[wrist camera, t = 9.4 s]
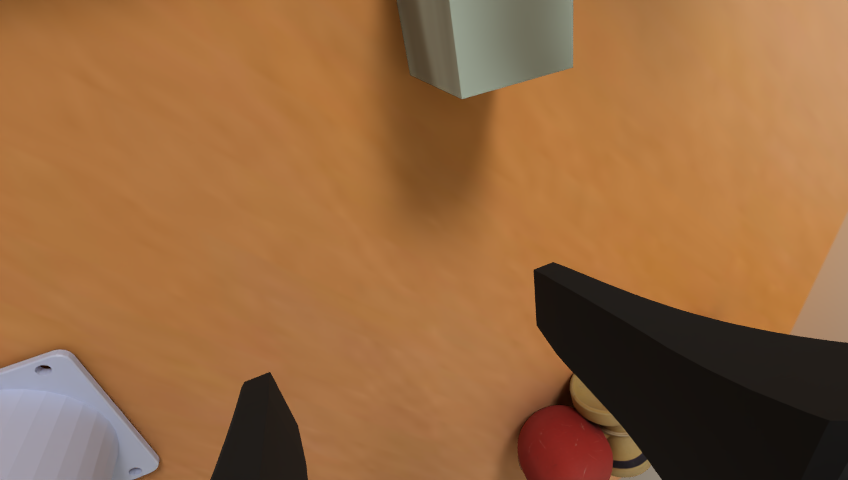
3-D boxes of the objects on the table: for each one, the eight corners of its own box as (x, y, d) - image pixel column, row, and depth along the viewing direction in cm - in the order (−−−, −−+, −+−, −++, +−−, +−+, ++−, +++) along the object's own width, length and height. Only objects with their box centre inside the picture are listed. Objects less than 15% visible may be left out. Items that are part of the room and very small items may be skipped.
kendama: (691, 272, 33) (494, 417, 29) (782, 329, 29) (567, 511, 24) (672, 331, 38) (504, 462, 34) (746, 387, 34) (565, 545, 30)
